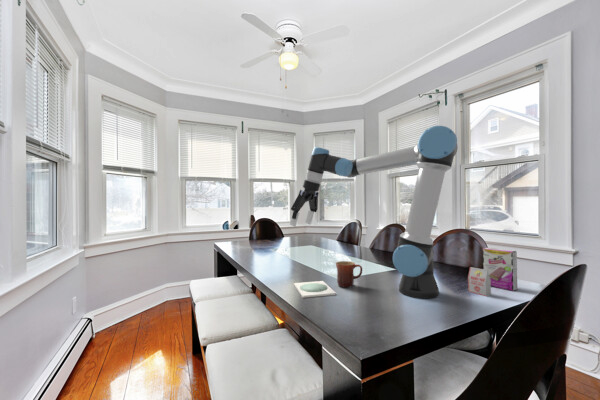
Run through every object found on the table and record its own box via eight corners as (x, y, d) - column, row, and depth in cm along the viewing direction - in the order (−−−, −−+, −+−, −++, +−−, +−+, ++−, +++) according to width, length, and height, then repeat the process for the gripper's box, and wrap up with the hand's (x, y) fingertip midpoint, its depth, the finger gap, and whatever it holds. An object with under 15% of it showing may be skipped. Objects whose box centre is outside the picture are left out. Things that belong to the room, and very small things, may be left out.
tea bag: (473, 290, 112) (472, 266, 112) (491, 294, 106) (490, 269, 106) (468, 291, 110) (467, 267, 111) (485, 296, 104) (485, 270, 105)
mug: (336, 288, 117) (335, 265, 117) (335, 282, 126) (335, 261, 126) (363, 289, 116) (363, 265, 116) (361, 283, 125) (360, 261, 125)
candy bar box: (483, 285, 119) (481, 248, 119) (487, 283, 121) (486, 247, 122) (513, 291, 109) (512, 251, 110) (518, 289, 112) (516, 250, 113)
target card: (335, 294, 109) (335, 292, 109) (302, 297, 106) (302, 295, 106) (322, 282, 127) (322, 280, 127) (294, 284, 124) (294, 282, 124)
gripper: (318, 181, 135) (307, 220, 138) (291, 176, 114) (278, 223, 117) (331, 185, 131) (319, 225, 134) (305, 181, 110) (292, 229, 113)
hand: (300, 224), depth 125 cm, fingers open, 13 cm apart
